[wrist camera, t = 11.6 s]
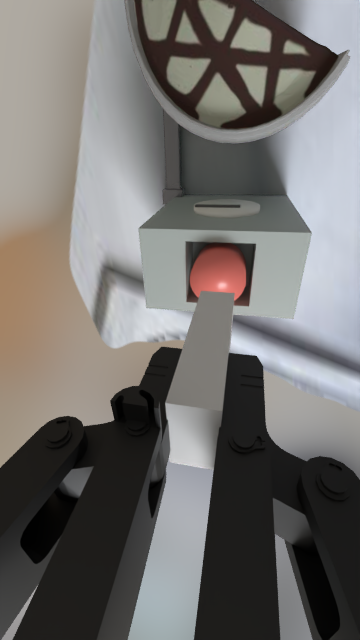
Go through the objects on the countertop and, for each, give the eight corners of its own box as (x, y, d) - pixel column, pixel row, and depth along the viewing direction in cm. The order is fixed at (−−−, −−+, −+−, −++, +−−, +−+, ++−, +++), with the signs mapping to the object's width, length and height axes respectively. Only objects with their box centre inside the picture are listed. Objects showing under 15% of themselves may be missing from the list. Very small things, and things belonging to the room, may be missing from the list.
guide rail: (180, -72, 19) (176, -83, 18) (184, 201, 28) (182, 204, 27) (153, -68, 19) (148, -79, 18) (166, 201, 28) (163, 203, 27)
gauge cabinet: (288, 189, 26) (313, 223, 16) (277, 255, 29) (293, 319, 19) (177, 189, 28) (137, 220, 18) (178, 251, 31) (146, 307, 21)
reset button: (248, 242, 19) (248, 255, 17) (243, 290, 20) (243, 307, 18) (195, 240, 19) (189, 252, 17) (195, 287, 21) (190, 303, 19)
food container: (140, 96, 24) (85, 75, 16) (170, -3, 21) (119, -94, 13) (268, 168, 25) (279, 185, 17) (316, 86, 22) (359, 56, 14)
